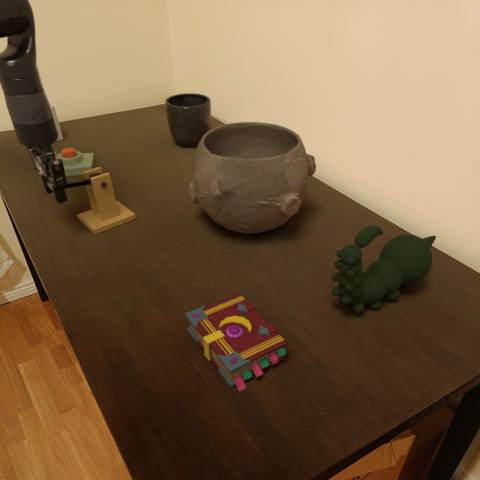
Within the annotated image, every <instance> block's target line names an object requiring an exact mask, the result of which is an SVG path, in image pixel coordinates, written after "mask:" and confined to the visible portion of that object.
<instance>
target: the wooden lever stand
mask: <svg viewBox="0 0 480 480" xmlns="http://www.w3.org/2000/svg"><path fill="white" fill-rule="evenodd" d="M82 173H83V175H82V177H83V179H90V180H91V184H92V185H85V187H86V192H87V194H88V195H87V196H88V199H89V203H90V207H91V209H89V210H87V211H84V212H81V213H78V214H76V217H77V220H78V221H79V222H81V223H82V224H83V225H84V226H85V227H86V228H87V229H88V230H89V231H91V233H93V234H94V235H97V234H100V233H102V232H105V231H107V230H110V229H113V228H115V227H117V226H120V225H123V224H126V223H129V222H131V221H134V220H137V216H136V214H135V213H134V212H133V211H132V210H130V209H129V208H128V207H126V206H125V205H124V204H122V203H121V202H120V201H119V200H117V199H116V195H115V190H114V186H113V182H112V178H111V174H110V172H105V173H104V172H103V168H102V167H101V166H98V167H94V169H90V170H87V171H84V172H82ZM96 173H102V174H101V175H98V176H95V177H92V178H90V176H89V175H90V174H96Z"/></svg>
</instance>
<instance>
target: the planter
mask: <svg viewBox="0 0 480 480" xmlns="http://www.w3.org/2000/svg"><path fill="white" fill-rule="evenodd" d="M164 105H165V107H164V108H165V112H166V119H167V124H168V129H169V132H170V135H171V136H172V138H173V140H174V141H176V142H177V144H179V145H180V146H181V147H185V148H195V147H196V148H197V147H198V144H199V142H200V140H201V139H202V137H203V135H204V134H206V133H207V132H208V131H209V130H211V127H212V121H211V120H212V102H211V98H210V97H209V96H207V95H205V94H201V93H193V92H191V93H188V92H186V93H177V94H174V95H171V96H168V97H166V99H165V100H164Z"/></svg>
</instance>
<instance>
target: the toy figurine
mask: <svg viewBox="0 0 480 480" xmlns="http://www.w3.org/2000/svg"><path fill="white" fill-rule="evenodd" d="M383 234H384V230H383V228H382V227H380V226H378V225H374V224H373V225H367V226H366V227H365V228H362V229H361V230H360V231H359V232H358V233H357V234H356V235H355V237H354V240H353V243H354V244H351V243H350V244H348V245H345V246H344V247H342V249H338V250H337V251H336V257H337V258H339V259H337V260H335V261H334V262H333V267H334V268H335V269H337V270H339V271H338V272H333V274H332V275H331V280H332V281H333V282H338V284H337V286H335V287H333V288H332V289H331V291H330V292H331V295H332V296H333V297H338V299H339V300H340V301H341V302H342V304H343V305H346V306H348V305H350V304H352V310H353V311H354V312H355V313H356V314H361V313H363V312H364V311H365V305H369V308H370V309H371V310H374V311H377V310H380V308H381V307H382V299H383V298H385V297H386V298H387V300H388V301H393V302H394V301H396V300H397V299H398V298H399V297H400V296H401V293H400V290H399V289H400V288H401V287H402V286H404V287H408V286H411V285H413V284H415V283H416V282H419V281H421V280H422V279H424V277H426V276H427V275H428V273H429V271H430V269H431V268H432V265H433V254H432V253H433V252H432V249H431V247H432V246H433V245H434V243H435V241H436V238H437V236H436V235H430V236H427V237H423V238H422V237H420V236H418V235H414V234H408V233H407V234H400V235H397V236H395V237H393V238H391V239H390V240H388V241H387V242H386V243H385V244H384V245H383V247H382V249H381V250H380V253H379V258H378V259H377V260H376V261H374V262H372V263H371V264H370V265H369V266H368V268H367V269H366V271H364V272H363V271H362V270H363V268H364V267H363V266H364V265H363V261H362V259H363V258H362V257H363V252H362V250H361V249H364V248H366V247H368V246H369V245H370V244H371V243H372V242H373V241H374V239H375V238H377V237H378V236H382V235H383Z"/></svg>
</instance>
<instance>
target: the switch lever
mask: <svg viewBox="0 0 480 480" xmlns="http://www.w3.org/2000/svg"><path fill="white" fill-rule="evenodd" d="M101 174H102V173H96V174H90V175H89V176H90V178H92V177H95V176H98V175H101ZM46 184H47V186H48V187H50V188H51V189H52V186H51V184H50V181H49V180H48V181H47V182H46ZM86 185H92V184H91V180H90V179H84V178H83V179H78V180H72V181H67V185H65V186H64V189H65V190H66V189H71V188H72V189H73V188H77V187H78V188H79V187H86ZM52 190H53V189H52Z"/></svg>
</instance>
